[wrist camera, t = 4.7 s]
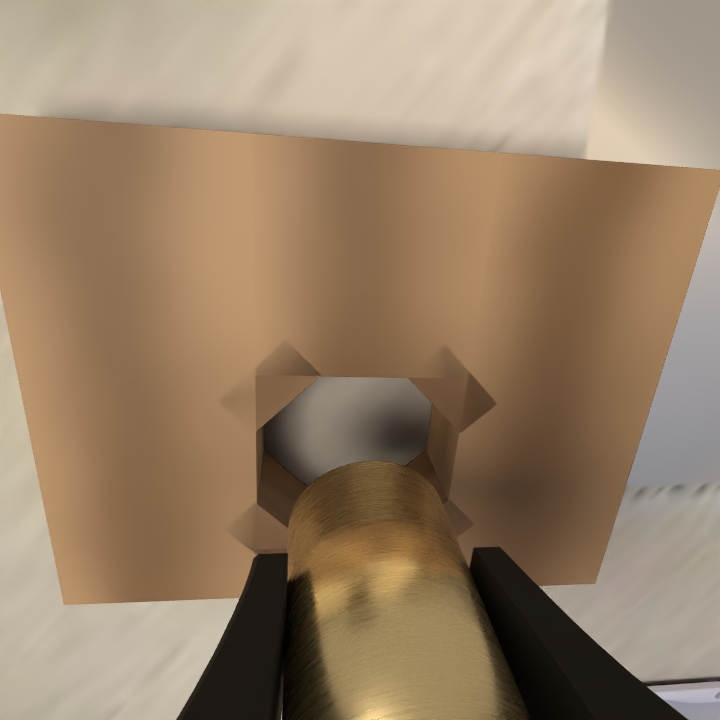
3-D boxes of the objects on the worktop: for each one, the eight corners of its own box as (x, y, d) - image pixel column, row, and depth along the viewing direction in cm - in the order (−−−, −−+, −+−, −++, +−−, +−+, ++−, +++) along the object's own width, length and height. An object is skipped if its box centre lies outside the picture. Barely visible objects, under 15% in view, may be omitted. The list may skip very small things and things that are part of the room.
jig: (649, 168, 16) (724, 170, 13) (555, 527, 21) (595, 583, 18) (34, 121, 13) (-36, 111, 10) (99, 538, 18) (63, 604, 16)
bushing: (452, 458, 12) (581, 713, 7) (435, 582, 14) (528, 874, 8) (287, 463, 12) (276, 742, 6) (288, 590, 13) (280, 907, 8)
